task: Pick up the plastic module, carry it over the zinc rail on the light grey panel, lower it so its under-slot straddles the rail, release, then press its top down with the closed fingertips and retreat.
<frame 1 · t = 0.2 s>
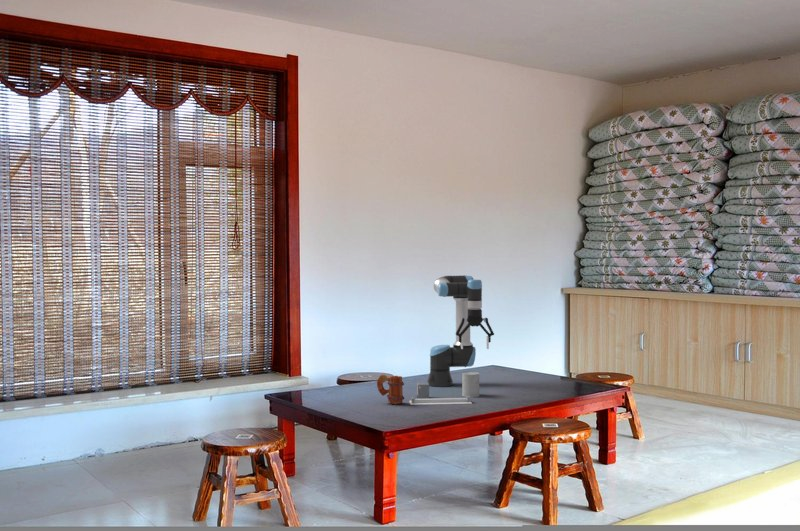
hand: (474, 348, 410), 28 cm above the table, fingers open, 13 cm apart
mug: (390, 403, 405), on the table
module: (422, 398, 418), on the table
light grey cylinder: (470, 395, 426), on the table
rail panel: (440, 402, 406), on the table
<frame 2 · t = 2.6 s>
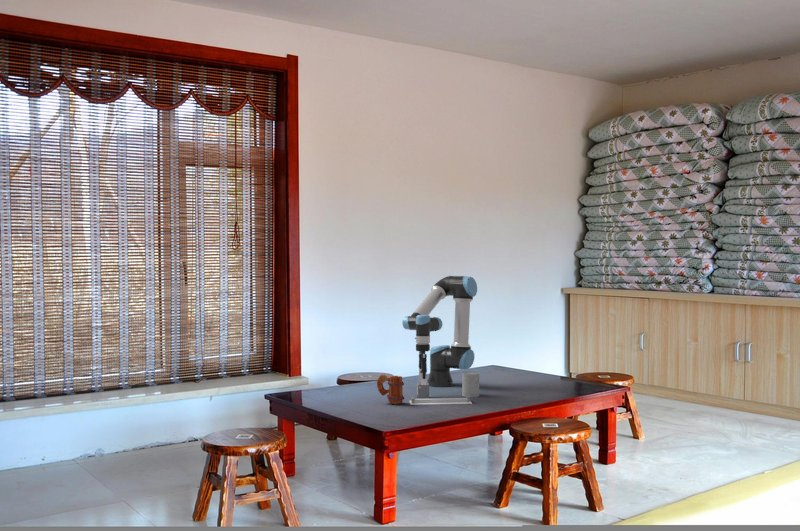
hand: (422, 382, 418), 8 cm above the table, fingers open, 13 cm apart
nothing on the table moved.
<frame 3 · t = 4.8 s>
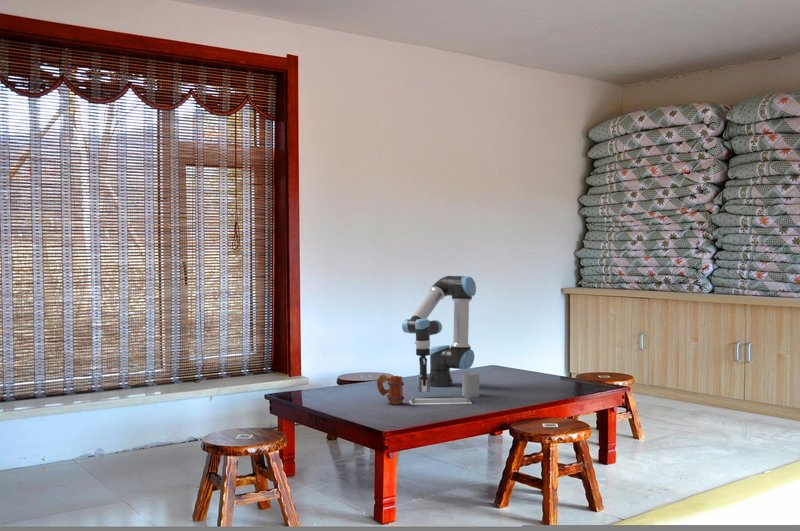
hand: (423, 389, 419), 4 cm above the table, fingers closed on module, 7 cm apart
module: (423, 390, 419), point 4 cm above the table, touching gripper
everything else where it was.
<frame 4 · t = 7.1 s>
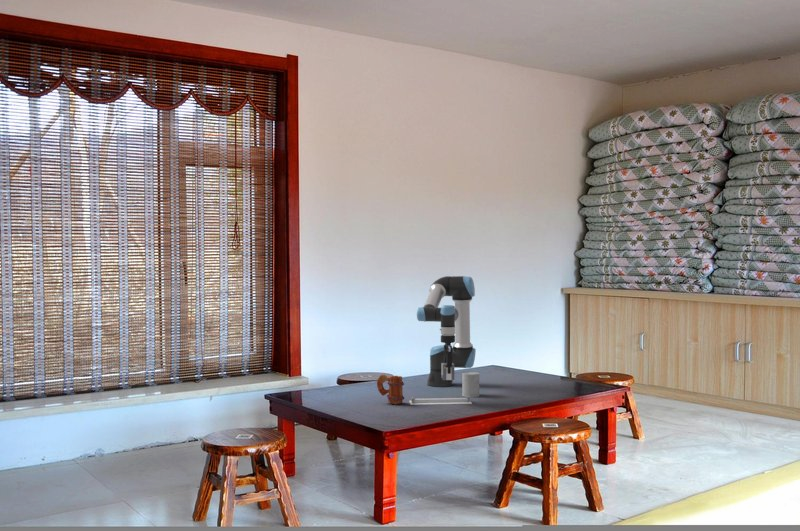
hand: (447, 378, 406), 13 cm above the table, fingers closed on module, 7 cm apart
module: (447, 379, 406), point 12 cm above the table, touching gripper
everything else where it was.
when the fingers open (2 cm above the table, at t = 9.2 s): module drops 1 cm, resting on rail panel.
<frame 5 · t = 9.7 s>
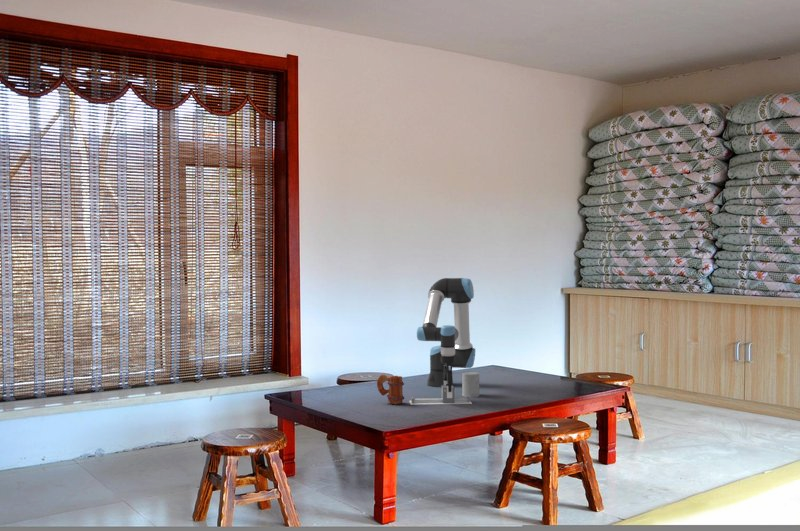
hand: (448, 395, 406), 4 cm above the table, fingers open, 13 cm apart
module: (447, 401, 407), resting on rail panel
everything else where it was.
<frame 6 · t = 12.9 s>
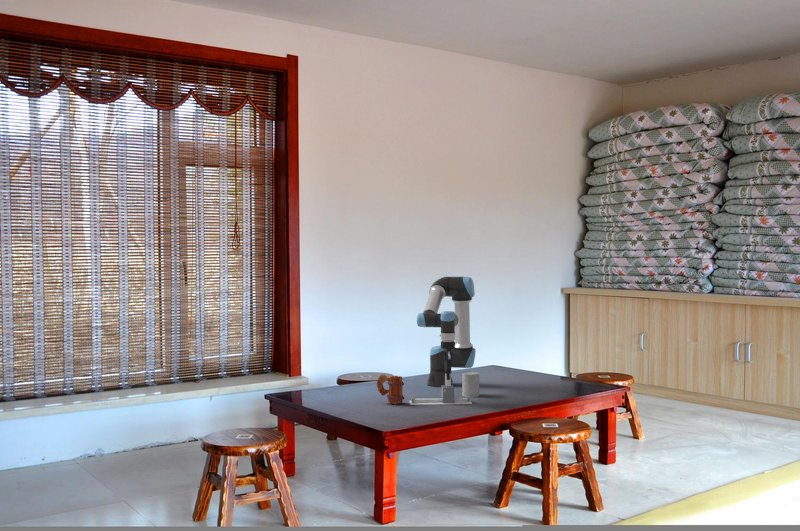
hand: (447, 385, 406), 9 cm above the table, fingers closed
nothing on the table moved.
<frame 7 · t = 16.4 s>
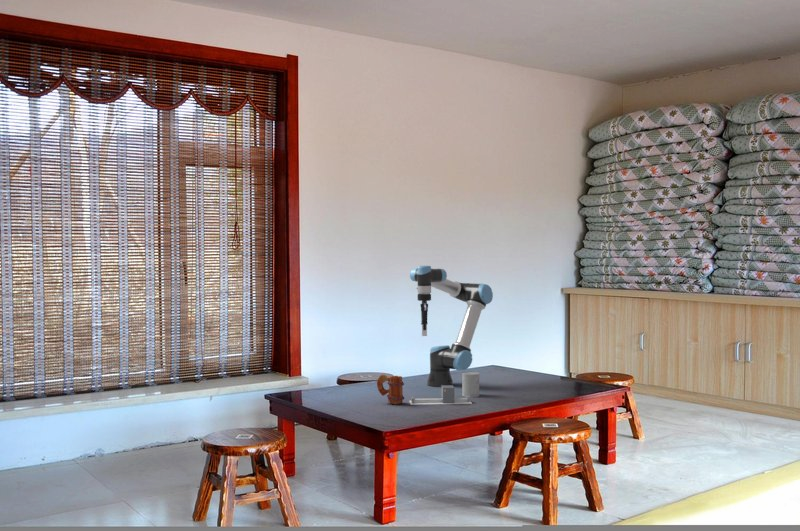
hand: (424, 335, 429), 32 cm above the table, fingers closed
nothing on the table moved.
at the end: module 0.1 cm from the target spot on the rail panel, point 0.4 cm above the rail panel's base; module tilted 0°; the gripper is holding nothing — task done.
